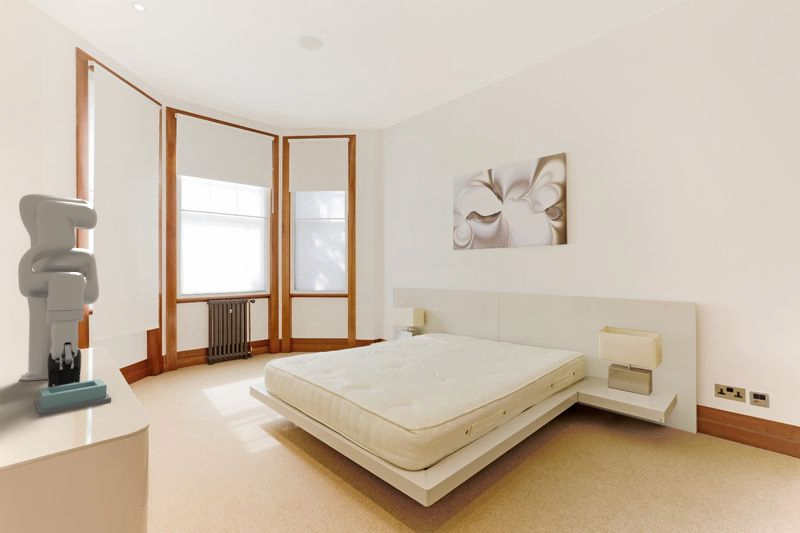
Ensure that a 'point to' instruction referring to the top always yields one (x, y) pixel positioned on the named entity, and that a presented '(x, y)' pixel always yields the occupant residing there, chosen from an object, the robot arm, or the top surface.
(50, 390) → the dock
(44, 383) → the top surface
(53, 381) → the battery charger
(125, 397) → the top surface
